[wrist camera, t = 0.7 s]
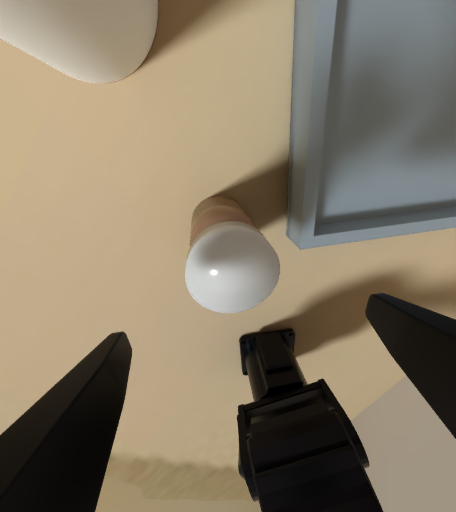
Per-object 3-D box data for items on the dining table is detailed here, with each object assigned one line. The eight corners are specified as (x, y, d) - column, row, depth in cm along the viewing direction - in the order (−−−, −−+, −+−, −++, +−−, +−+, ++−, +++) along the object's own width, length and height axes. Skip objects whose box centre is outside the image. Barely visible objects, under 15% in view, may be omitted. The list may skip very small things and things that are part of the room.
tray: (483, 208, 21) (525, 217, 18) (286, 235, 20) (300, 249, 17) (624, -91, 13) (737, -154, 10) (298, -81, 11) (329, -151, 9)
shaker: (247, 244, 20) (279, 305, 12) (195, 251, 19) (193, 319, 12) (245, 191, 17) (280, 224, 10) (185, 198, 17) (176, 238, 10)
